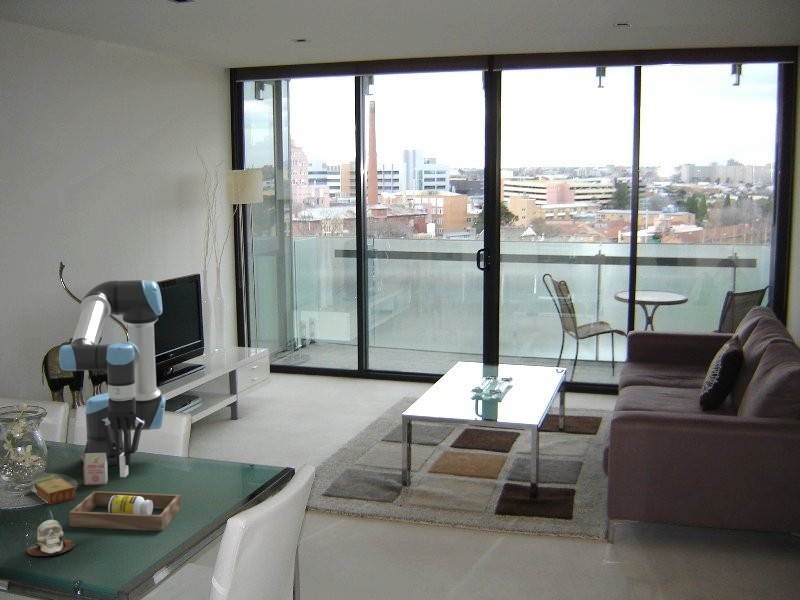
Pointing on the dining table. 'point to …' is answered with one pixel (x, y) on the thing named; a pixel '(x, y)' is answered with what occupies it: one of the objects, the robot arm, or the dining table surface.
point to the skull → (50, 540)
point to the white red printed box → (95, 469)
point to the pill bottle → (130, 505)
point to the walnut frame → (124, 521)
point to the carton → (54, 489)
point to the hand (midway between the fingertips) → (124, 475)
